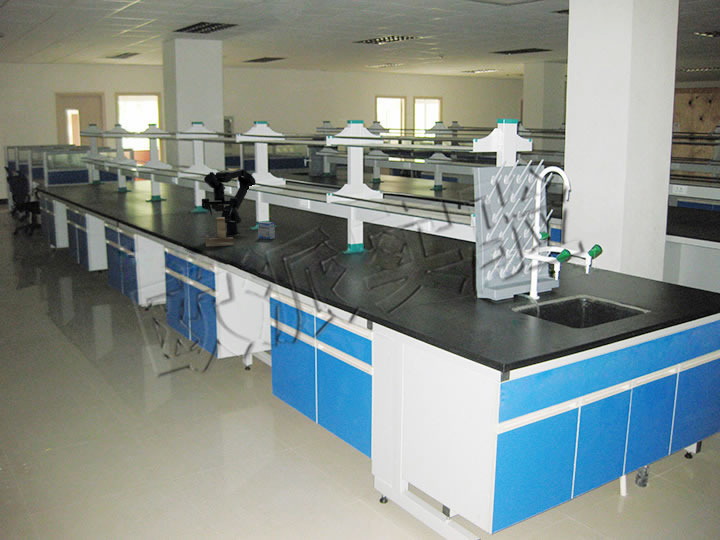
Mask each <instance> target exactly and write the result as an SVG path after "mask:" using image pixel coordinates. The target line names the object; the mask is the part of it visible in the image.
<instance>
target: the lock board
mask: <svg viewBox="0 0 720 540" xmlns="http://www.w3.org/2000/svg"><path fill="white" fill-rule="evenodd" d="M204 239H205V247H206V248H207V247H221V246H222V247H223V246H224V247H225V246H234V244H235V243H234V237H233V236H232V237H226V238H221V239H218V238H217V237H216V238H210V236H209V234H206V235H205V238H204Z"/></svg>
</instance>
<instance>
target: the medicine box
mask: <svg viewBox="0 0 720 540" xmlns="http://www.w3.org/2000/svg"><path fill="white" fill-rule="evenodd" d="M257 231H258V232H257V233H258V239H261V240H263V239H264V240H274V239H276V234H275V233H276V231H275V222H271V221H270V222H269V221H260V222H257Z"/></svg>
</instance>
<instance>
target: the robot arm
mask: <svg viewBox="0 0 720 540" xmlns="http://www.w3.org/2000/svg"><path fill="white" fill-rule="evenodd" d="M234 179H237V182H239V188H238V189H237V192H236V193H235V195H234V197H229V200H226V198H225V197H226V195H225V189H226V186H225V185H224V183H225V184H227V183H230V182H232V180H234ZM203 181H204V182H205V183H206V184H207V185H208V187H210V189H213V190H212V191H213V200H210V198H201V209H204V210H206V211H208V213H209V215H210V217H211V218H212V217H213V212H212V210H213V211H215V212H222V213H221V217H225V224H226V225H225V228H226V235H237V234H240V233H241V231H239V224H240V223H241V222H242V218H241V216H240V215H239V208H240V207H241V204H242V203H243V201H244V199H245V197H246V195H247V193H248V192H247V190H248V189H249V186H252V185H254V186H255V185H256V179H255V177H254V176H253V175H252V174H251V173H249V172H248V171H247V170H246V169H245V168H238V169H234V170H231V171H218V172H216V173H215V172H213V171H210V172H209V173H208V174H206V175H205V176H204V178H203Z"/></svg>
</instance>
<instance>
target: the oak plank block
mask: <svg viewBox="0 0 720 540" xmlns="http://www.w3.org/2000/svg"><path fill="white" fill-rule="evenodd" d="M216 225H217V226H216V228H217V229H216V230H217V237H218V239H221V238H227V234H226V233H227V229H226V223H225V217H222V216H221V217H216Z"/></svg>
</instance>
